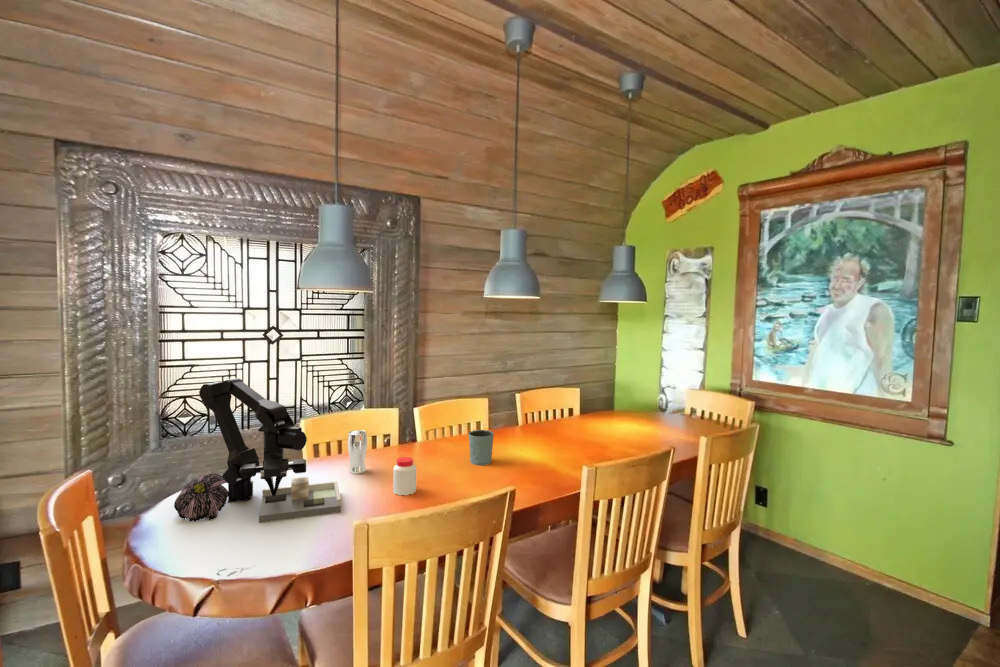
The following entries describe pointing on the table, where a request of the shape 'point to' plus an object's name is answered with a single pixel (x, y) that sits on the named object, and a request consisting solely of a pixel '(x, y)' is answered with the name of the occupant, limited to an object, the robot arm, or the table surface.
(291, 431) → the robot arm
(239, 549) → the table surface
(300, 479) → the ivory block
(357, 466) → the beer glass
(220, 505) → the decorative flower
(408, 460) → the pill bottle
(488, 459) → the grey cup
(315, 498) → the trap deck
